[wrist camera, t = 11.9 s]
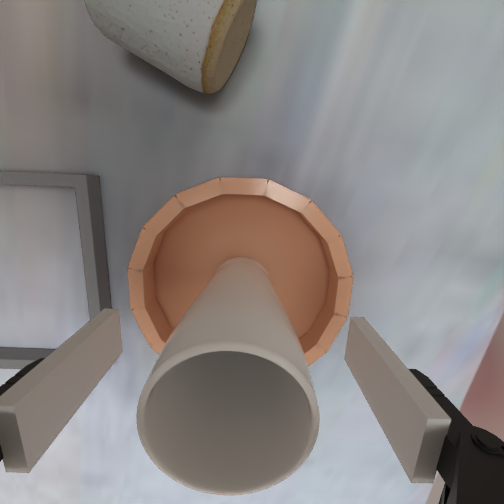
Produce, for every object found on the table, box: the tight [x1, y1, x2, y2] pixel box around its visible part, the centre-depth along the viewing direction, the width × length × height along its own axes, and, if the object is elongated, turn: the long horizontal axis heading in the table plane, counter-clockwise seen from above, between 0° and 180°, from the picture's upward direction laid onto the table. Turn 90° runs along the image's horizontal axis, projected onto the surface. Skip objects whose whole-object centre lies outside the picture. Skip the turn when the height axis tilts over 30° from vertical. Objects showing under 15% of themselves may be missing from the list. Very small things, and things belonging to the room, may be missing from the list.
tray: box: [0, 171, 111, 369], centre depth 23 cm, size 18×16×2 cm
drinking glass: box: [137, 257, 320, 495], centre depth 17 cm, size 7×7×15 cm
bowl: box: [128, 177, 353, 366], centre depth 23 cm, size 18×18×3 cm
